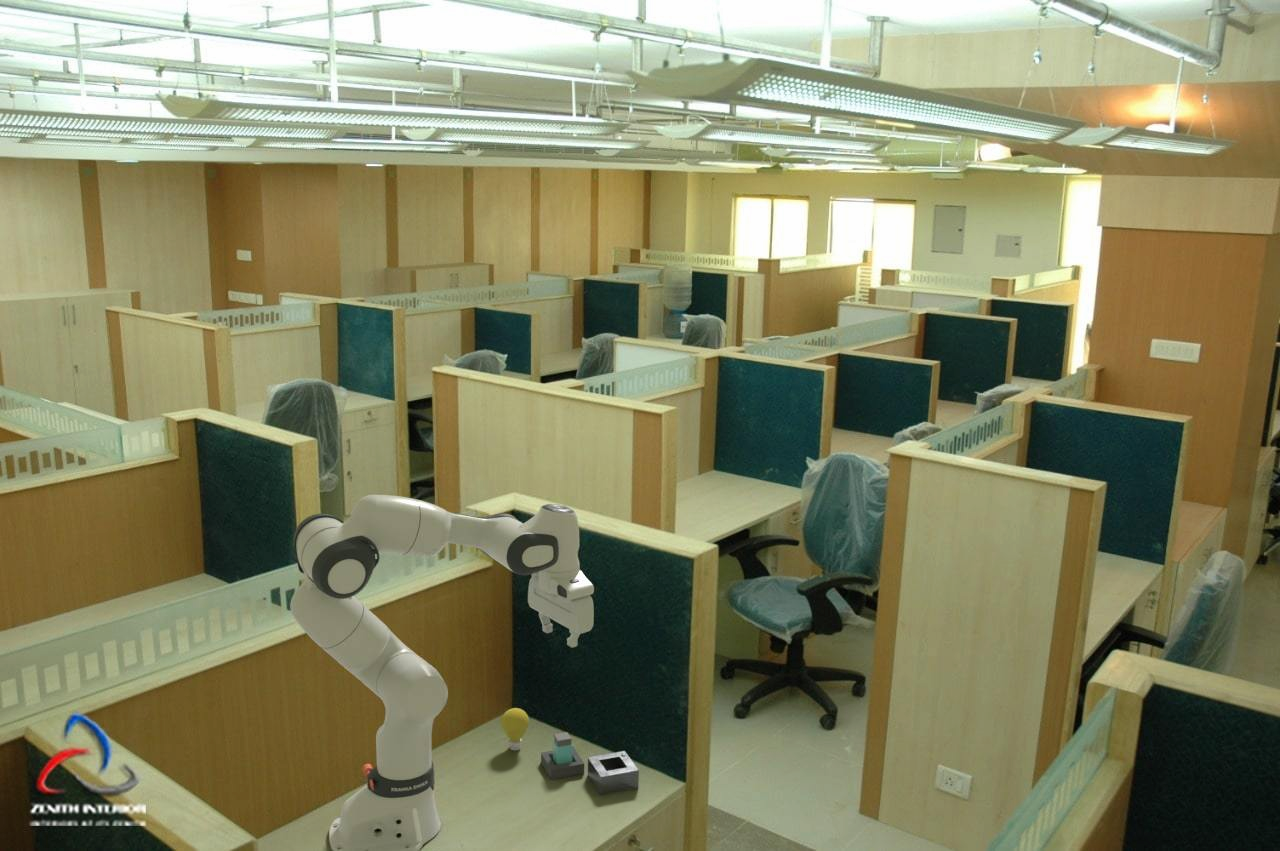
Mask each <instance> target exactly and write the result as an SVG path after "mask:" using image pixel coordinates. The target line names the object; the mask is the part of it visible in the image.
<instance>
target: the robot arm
mask: <svg viewBox="0 0 1280 851" xmlns="http://www.w3.org/2000/svg"><path fill="white" fill-rule="evenodd" d="M579 526H580V525H579V520H578V516H577V512H575V511H574V510H573V509H571V508H570V507H567V506H565V505H562V504H561V505H560V504H558V503H557V504H554V503H549V504H544V505H542V506H540V508H539V510H538V512H536V514H534V516H532V517H530V519H528V520H527V521H525V522H524V523H523V522H522V521H520V520H519V519H518V518H516V516H514V515H512V514H510V513H494V514H492V515H486V516H474V515H468V514H462V513H456V512H452V511H451V512H450V511H447V510H446V509H444V507H443V508H442V507H441V506H438V505H436V504H433V503H430V502H427V501H424V500H420V499H416V498H411V497H406V496H401V495H400V496H399V495H392V494H391V495H390V494H369V495H365V496H363V497H361V498H359V500H357V501H356V503H355V505H354V506H353V508H352V510H351V513H350V516H349V517H348V519H346V521H343V520H341V519H340V518H338V517H336V516H334V515H331V514H327V513H316V514H312V515H310V516H308V517H306V518H304V519H303V520H302V521H301V522H300V523H299V524H298V525H297V527H296V529H295V532H294V536H293V548H294V549H293V550H294V555H295V559H296V563H297V566H298V567H297V568H298V571H299V572H300V573H301V574H304V580H303V582H302V583H301V585H300V586H299V587H298V588H297V589H296V590H295V591H294V593H293V594H292V597H291V599H290V604H289V608H290V609H289V610H290V612H291V615H292V617H293V618H294V620H295V621H296V622H297V623H298V625H299V627H300V628H301V629H302V630H303V631H304V632H305V634H306V635H308V637H309V638H310V639H311V640H312V641H313V642H314V643H316V645H318V646H319V647H320V648H321V649H322V650H323V651H324V652H326V653H327V654H328V655H329V656H331V657H332V658H333V659H334V660H335V661H336V662H338V663H339V664H340V665H341V666H342V667H343V668H345V669H346V671H348V672H349V673H350V674H352V675H353V676H354V677H355V678H356V679H358V680H359V681H360V682H361V683H362V684H364V685H365V686H366V687H367V688H368V689H369V690H371V691H372V692H373V693H374V694H375V695H376V696H378V698H380V700H382V702H383V705H384V708H385V717H384V720H383V724H382V725H380V727H379V728H378V729H377V732H376V734H375V735H376V736H375V741H376V742H375V745H376V746H375V748H376V751H375V752H376V753H375V754H376V765H375V766H374V768H373V765H371V763H364V765H363V766H362V768H361V769H362V774H363V775H364V776H365V777H366V785H364V786H363V787H362V788H361V789H360V788H359V790H358V791H357V792H355V793H354V794H352V795H351V796H350V797H349V798H347V800H346V801H345V802H344V804H343V805H342V808H341V813H340V817H337V818H336V819H334V820H333V822H332V823H331V825H330V826H329V831H328V832H329V833H328V842H329V846H330V848H331V851H420V849H421V848H422V847H423V845H424V844H426V843H427V842H429V841H430V840H431V839H433V838H434V837H435V836H437V834H438V833H439V831H440V830H441V826H442V824H441V820H440V819H441V818H440V816H439V814H438V810H437V806H436V801H435V793H434V790H435V784H436V783H435V782H436V780H435V779H436V778H435V776H436V774H435V766H434V765H435V764H434V763H433V762H434V761H433V759H432V758H433V757H432V755H433V754H432V732H433V725H434V721H435V718H436V717H437V716H438V715H439V714H440V713H441V712H442V711H443V709H444V708H445V707H446V703H447V701H448V697H449V692H448V691H449V689H448V686H447V684H446V682H445V680H444V679H443V677H442V676H441V673H439V671H438V670H437V669H436V667H433V666H432V665H431V664H430V663H428V662H427V661H426V660H425V659H423V658H422V657H421V656H420V655H418V654H417V653H416V652H414V650H412V649H411V648H409V647H408V646H407V645H406V644H405V643H403V642H402V641H401V640H400V639H399V638H398V637H397V635H395V634H394V633H393V632H392V631H391V629H390V628H389V627H388V626H387V625H386V624H385V623H384V622H383V620H381V619H380V618H378V616H377V615H375V614H374V613H373V611H371V610H370V609H369V608H368V607H367V606H366V605H365V604H363V603H362V601H360V600H359V599H358V598H357V597H356V595H357V594H359V593H360V592H362V590H363V589H364V588H365V587H366V586H367V584H368V583H369V581H370V579H371V578H372V574H373V571H374V569H375V568H376V567H377V565H379V561H380V553H389V554H395V555H399V556H404V557H405V556H406V557H415V558H432V557H435V556H436V555H438V554H439V553H440V552H441V551H443V549H444V548H445V547H446V546H447V544H452V545H459V546H466V547H471V548H476V549H477V550H479V551H480V552H482V553H483V554H484V555H486V556H487V557H489V558H490V559H492V560H494V561H496V562H498V563H499V564H500V565H502V566H503V567H505V568H506V569H507V570H509V571H511V572H512V573H514V574H517V575H520V576H529V575H531V578H530V579H529V583H528V589H527V603H528V605H529V608H531V609H533V610H535V611H537V612H538V617H539V621H540V622H541V625H542V632H544V633H546V634H550V633H553V630H554V628H553V626H554V625H553V623H551V620H552V621H554V622H556V623H557V624H560V625H561V626H564V627H565V628H567V629H569V630H568V631H569V632H568V633H569V634H570V636H569V637H567V638H566V641H567V642H566V645H567V646H568V647H570V648H576V647H577V646H578V645H579V644H578V638H579V637H580V635H581V634H585V633H587V632H590V631H591V630H592V629H593V627H594V618H595V617H594V616H595V614H594V613H595V610H594V608H595V607H594V600H593V598H592V596H591V595H593V594H594V592H595V587H594V584H593V583H592V581H590V580H589V579H588V578H587V577H586V576H585V574H584V572H583V571H582V570H581V569H580V560H579V555H578V554H579V549H580V528H579Z"/></svg>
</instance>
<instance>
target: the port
mask: <svg viewBox="0 0 1280 851" xmlns="http://www.w3.org/2000/svg"><path fill="white" fill-rule="evenodd" d="M639 773H640V772H639V768H638V767H637V766H636V764H635V763H634V762H633V760H632V759H631V757H630V756H629V755H628V753H627V752H626V751H625V750H621V751H617V752H612V753H605V754H599V755H595V756H589V757H587V776H588V778H589V780H590V781H591V783H592V784H593V786H594V787H595V789H596V791H597V792H598V794H599V795H600V796H604V795H610V794H611V795H612V794H616V793H621V792H626V791H631V790H632V791H633V790H638V789H639V777H640V776H639Z"/></svg>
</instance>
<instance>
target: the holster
mask: <svg viewBox="0 0 1280 851" xmlns="http://www.w3.org/2000/svg"><path fill="white" fill-rule="evenodd" d="M540 764H541V765H542V767H543V766H544V767H543V769H544V770H545V773H548V774H547V776H548V777H549V779H550V780H555V779H554V778H557V779H562V778H565V777H572V775H573V776H579V775H582V774H583V775H584V774H585V762H584V760H583V759H582V758H581V756H580V754H579V753H578V752H577V750H576V748H575V747H574V746H572V763H566V764H560V765H554V763H553V750H548V751H542V752H541V753H540ZM559 777H560V778H559ZM561 777H562V778H561Z"/></svg>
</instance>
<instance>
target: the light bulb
mask: <svg viewBox="0 0 1280 851" xmlns="http://www.w3.org/2000/svg"><path fill="white" fill-rule="evenodd" d="M500 725H501V728H502V730H503V732H504V733H505V735H506V736H507V737H508V746H510V747H509V748H510V750H512V751H518V750H520V749H521V745H522V744H523V742H522V741H523V739H522V737H523V736H524V734H525V733H526V731H527V729H528V727H529V725H530V718H529V716H528V713H526V711H525V710H524V709H522V708H518V707H513V708H510V709H508V710H506V711H505V712H504V714H502V717H501V720H500Z"/></svg>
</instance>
